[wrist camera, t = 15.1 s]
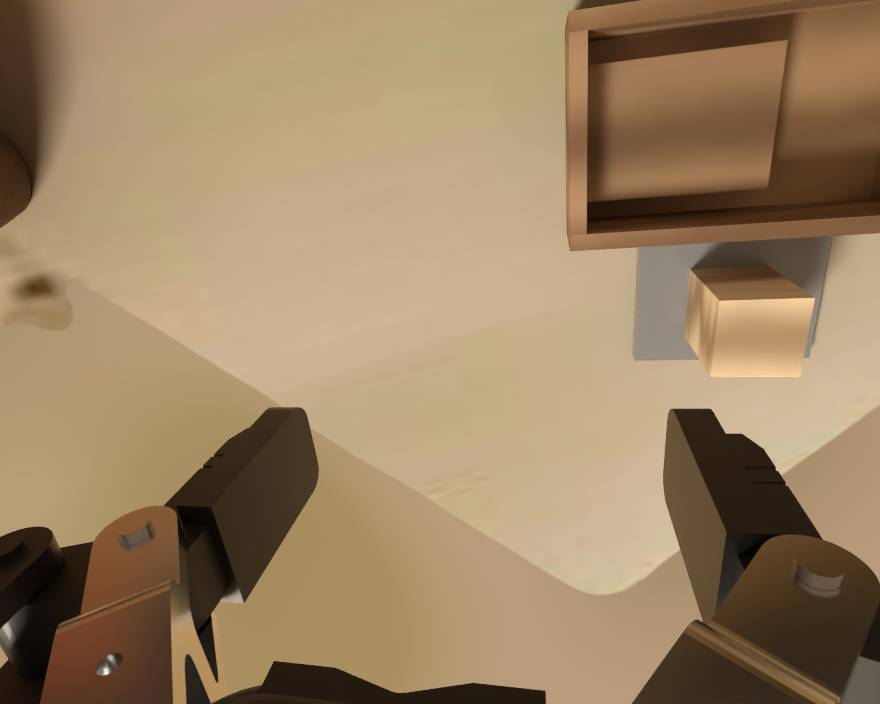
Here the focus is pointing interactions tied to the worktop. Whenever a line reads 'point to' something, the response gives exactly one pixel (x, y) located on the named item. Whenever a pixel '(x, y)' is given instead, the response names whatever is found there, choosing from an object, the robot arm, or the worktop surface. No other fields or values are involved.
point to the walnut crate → (721, 121)
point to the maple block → (747, 322)
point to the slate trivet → (670, 267)
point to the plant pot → (12, 183)
